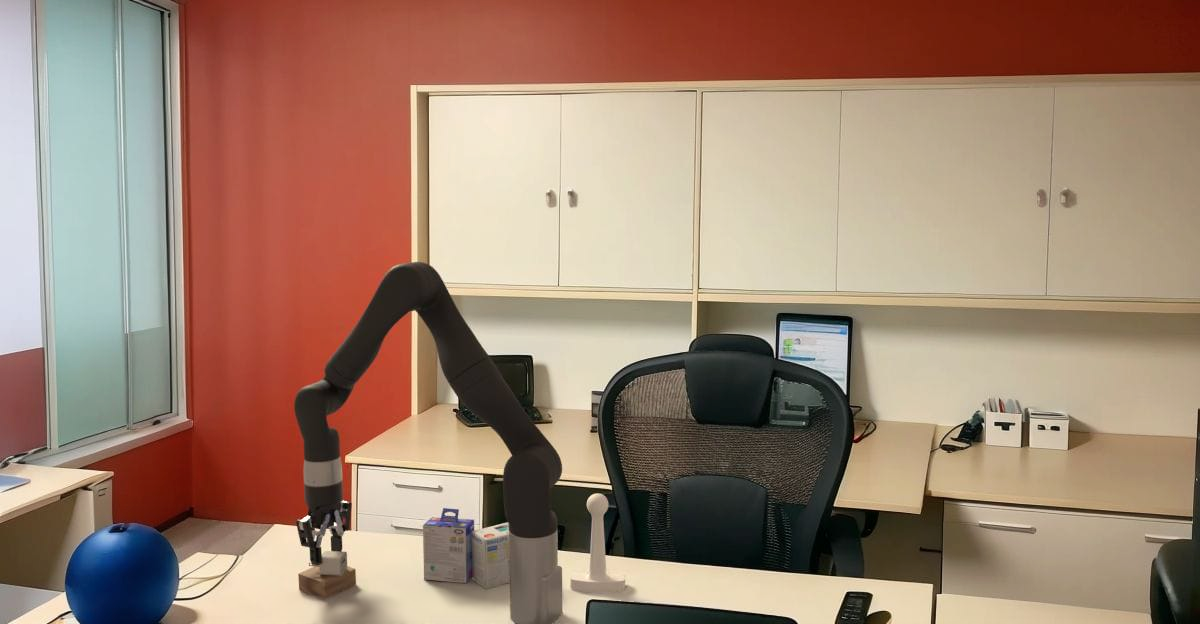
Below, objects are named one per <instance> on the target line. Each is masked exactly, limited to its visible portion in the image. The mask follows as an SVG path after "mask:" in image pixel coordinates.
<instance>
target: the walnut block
mask: <svg viewBox="0 0 1200 624" xmlns="http://www.w3.org/2000/svg"><path fill="white" fill-rule="evenodd" d="M356 574H357V573H356V568H355V567H351V566H348V565H347V570H346V571H345V572H344V573H343V574H342V576H332V575H320V572H319V567H315V566H311V567H310V568H308V569H306V570H304V571H301V572H298V574H297V575H298V590H300V591H303V592H306V593H307V594H311V595H314V596H317V597H320V598H322V599H325V600H326V599H328V598H330V597H333V596H334V595H337V594H339V593H341V592H342V591H345V590H348V589H350V588H351V587H354V586H356V585H357V575H356Z"/></svg>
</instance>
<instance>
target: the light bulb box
mask: <svg viewBox="0 0 1200 624" xmlns="http://www.w3.org/2000/svg"><path fill="white" fill-rule="evenodd" d="M471 544H472V574H473V577H472V580H474V581H475V582H476V583H477V584H479V585H480V586H481V587H482V588H484V589H485V590H487V589H491V588H495V587H498V586H502V585H506V584H510V571H509V523H508V521H506V522H503V523H500V524H496V525H493V526H487V527H484V528H480V529H474V531H471Z"/></svg>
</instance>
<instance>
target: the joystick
mask: <svg viewBox="0 0 1200 624" xmlns="http://www.w3.org/2000/svg"><path fill="white" fill-rule="evenodd" d="M586 508H587V510H588V512H589V513H590V515H591V530H590V531H591V534H590V550H589V551H590V552H589V553H590V554H589V570H588V571H589V572H588V573H582V572H578V571H577V572H576V571H573V572H572V573H571V574H570V590H572V591H577V592H586V593H596V594H597V593H598V592H605V593H608V594H609V593H620V592H619V591H621V592H624V591H625V590H626V574H625V573H615V574H612V573H611V574H610V572H609V569H608V568H607V564H606V563H607V560H606V559H607V558H606V546H605V545H606V544H605V543H606V542H605V528H604V515H605V513H607V511H608V509H609V501H608V498H607V497H606V496H605V495H604V494H602V493H600V492H599V493H593V494H591V495H590V496H589V497H588V498H587V501H586Z"/></svg>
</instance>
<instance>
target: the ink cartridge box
mask: <svg viewBox="0 0 1200 624" xmlns="http://www.w3.org/2000/svg"><path fill="white" fill-rule="evenodd" d="M459 511H460V509H459V508H457V509H456V508H449V507H448V508H447V507H443V508H442V512H441V516H440V517H433V516H432V517H431V518H430V519H428V520H427V521H426V522H425V523H424V524H423V525H422V540H423V541H422V543H423V546H422V549H423V580H425V581H435V582H436V581H437V582H438V581H439V582H449V583H459V584H460V583H462V584H467V583H468V582H469V581H470V580H471V579H473V574H472V544H471V531H474V530H475V519H471V518H459ZM446 513H452V514H454V515H446Z"/></svg>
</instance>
